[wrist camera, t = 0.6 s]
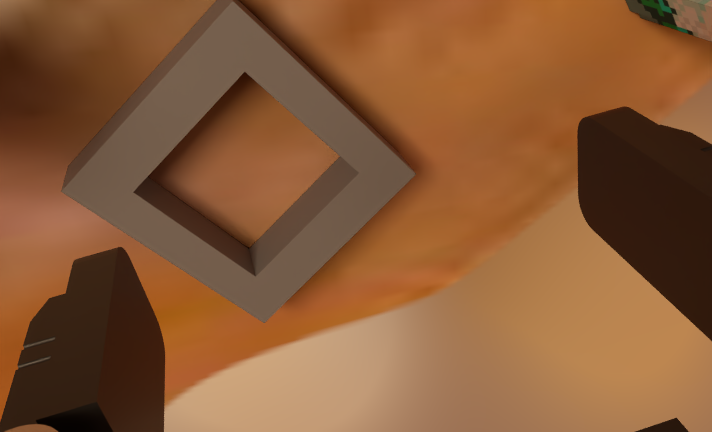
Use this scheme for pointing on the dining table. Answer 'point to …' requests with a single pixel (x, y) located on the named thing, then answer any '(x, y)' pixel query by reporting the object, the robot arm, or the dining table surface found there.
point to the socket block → (183, 111)
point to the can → (677, 15)
